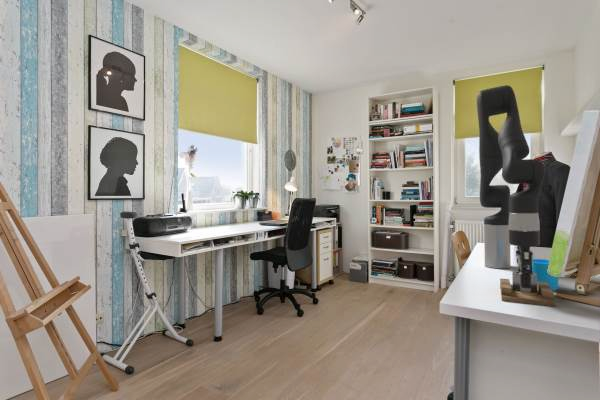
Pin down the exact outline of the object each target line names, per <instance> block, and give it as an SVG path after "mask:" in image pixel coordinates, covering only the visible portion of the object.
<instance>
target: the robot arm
mask: <svg viewBox="0 0 600 400" xmlns="http://www.w3.org/2000/svg"><path fill="white" fill-rule="evenodd" d="M476 110H477V111H476V112H477V121H478V133H479V135H478V136H479V137H478V138H479V140H478V144H479V145H478V150H479V152H478V153H479V154H478V156H479V157H478V158H479V169H480V170H479V171H480V178H479V179H480V186H479V202H480V206H481V207H482V208H488V209H493V208H494V209H495V208H498V209H500V210H499V211H498V212H496V213H494V214H491V215H487V216H486V217H484V219H483V224H484V225H483V228H484V229H483V233H484V235H483V238H484V239H483V240H484V246H483V247H484V266H485V267H488V268H491V269H510V268H511V267H512V266H511V262H512V261H511V260H512V259H511V246H515V247H516V249H517V250H515V257H516V263H517V268H518V271H520V273H521V286H522V288H528V289H530V288H531V274H532V273H533V271H532V267H533V260H532V259H534V253H533V251H532V250H531V249H530V248H531V247H539V246H540V244H541V240H540V239H541V238H540V237H541V236H540V235H541V234H540V231H541V230H540V228H541V227H540V226H541V225H540V217H539V196H540V192H541V190H542V189H541V188H542V187H543V182H544V179H545V177H546V166H545V164H544V162H543V161H542V160H540V159H538V158H537V159H535V158H529V159H528V158H527V157H528V156H529V154H530V147H529V144H528V141H527V139H526V137H525V134H524V132H523V127H522V124H521V117H520V112H519V107H518V102H517V97H516V94H515V92H514V89H513V87H512V86H511V85H506V84H505V85H500V86H495V87H491V88H486V89H482V90H480V91H478V93H477V96H476ZM503 114H506V118H505V120H504V122H503V124H502V125H501V127H500V130H499V131H497V130H496V129H495V128H494V126H493V125H492V123H491V122H490V117H492V116H493V117H494V116H498V115H503ZM526 158H527V159H526ZM500 172H501V177H502V180H503V181H505V183H507V184H510V185H526V187H525V188H524V189H523V190H522V191H517V192H513V193H511V189H510V187H509V185H506V184H499V185H498V184H492V185H491V183H492V181H493V180H494V178H495V177H496V176H497V175H498V173H500ZM528 268H529V269H528Z"/></svg>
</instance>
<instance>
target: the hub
mask: <svg viewBox="0 0 600 400" xmlns="http://www.w3.org/2000/svg"><path fill="white" fill-rule="evenodd" d="M518 273H520V271H519V270H517V271H516V270H515V271H512V277H511V278H512V285H513V291H517V292H520V293H530V294H531V293H537V274H536V273H532V274H531V288H530V289H528V288H522V286H521V274H518Z"/></svg>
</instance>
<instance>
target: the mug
mask: <svg viewBox="0 0 600 400" xmlns="http://www.w3.org/2000/svg"><path fill="white" fill-rule="evenodd" d="M532 260H533V267H532V271H533V273H536V274H537V282H547V283H548V285H549V286H550V288H551V289H552V291H556V289H558V290H559V286H560V285H559V276H558V277H554V276H551V275H549V274H548V273H547V269H548V265H549V260H550V259H542V258H533V259H532ZM528 269H529V268H528Z"/></svg>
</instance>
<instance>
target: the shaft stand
mask: <svg viewBox="0 0 600 400" xmlns="http://www.w3.org/2000/svg"><path fill="white" fill-rule="evenodd" d="M518 274H521V273H518ZM499 282H500V284H499V288H500V297H501V301H502V302H508V303H520V304H526V305H527V304H530V305H538V306H549V307H555V306H556V301H555V300H554V299H555V295H554V290H552V289H551V288H550V286H549V285H548V283H547V282H537V293H531V294H530V293H520V292H517V291H513V283H512V284H511V282H510V279H509V278H499Z"/></svg>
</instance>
